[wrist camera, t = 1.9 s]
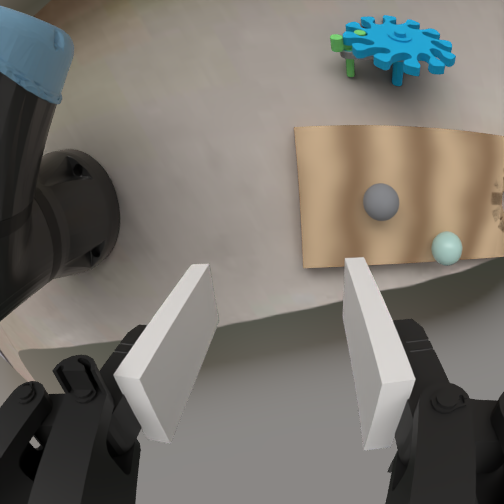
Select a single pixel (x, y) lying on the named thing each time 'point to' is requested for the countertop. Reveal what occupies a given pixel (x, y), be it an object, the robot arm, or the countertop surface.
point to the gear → (393, 47)
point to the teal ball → (446, 248)
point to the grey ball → (381, 202)
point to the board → (398, 192)
